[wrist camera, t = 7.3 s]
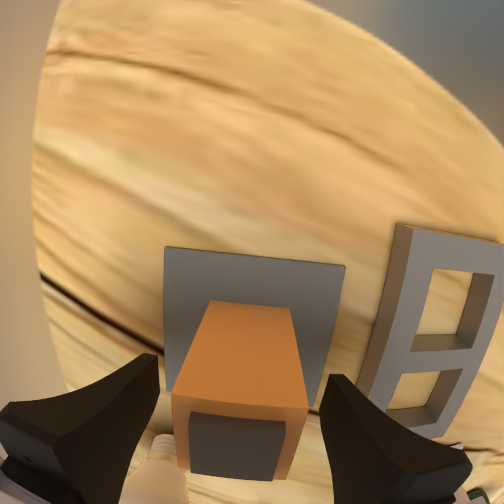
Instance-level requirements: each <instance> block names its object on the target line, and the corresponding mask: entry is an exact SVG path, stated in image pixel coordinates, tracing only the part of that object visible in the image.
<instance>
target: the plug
mask: <svg viewBox="0 0 504 504" xmlns="http://www.w3.org/2000/svg"><path fill="white" fill-rule="evenodd" d="M171 403H172V417H173V429H174V439H175V449H176V458H177V467H178V468H180V469H185V470H190V471H191V473H196V474H202V475H209V476H216V477H224V478H233V479H243V480H256V481H272V480H273V479H279V480H286V478H287V475H288V472H289V469H290V467H291V464H292V461H293V458H294V455H295V452H296V449H297V446H298V443H299V440H300V436H301V433H302V430H303V427H304V423H305V420H306V417H307V413H308V410H309V405H308V399H307V394H306V389H305V383H304V378H303V373H302V368H301V362H300V357H299V352H298V347H297V342H296V337H295V332H294V327H293V322H292V317H291V312H290V308H281V307H271V306H261V305H251V304H242V303H233V302H224V301H216V300H210V303H209V305H208V307H207V309H206V312H205V314H204V316H203V319H202V321H201V323H200V326H199V328H198V330H197V333H196V335H195V337H194V340H193V342H192V344H191V347H190V349H189V351H188V354H187V356H186V358H185V361H184V363H183V366H182V368H181V370H180V373H179V375H178V377H177V380H176V382H175V385H174V387H173V389H172V392H171Z"/></svg>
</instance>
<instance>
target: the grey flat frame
mask: <svg viewBox="0 0 504 504" xmlns="http://www.w3.org/2000/svg"><path fill="white" fill-rule="evenodd" d="M433 268H438V269H447V270H455V271H464V272H473V273H474V275H473V279H472V283H471V287H470V291H469V294H468V298H467V301H466V305H465V308H464V312H463V315H462V318H461V321H460V324H459V327H458V330H457V333H456V334H455V335H415V334H416V331H417V328H418V325H419V322H420V318H421V315H422V311H423V308H424V304H425V301H426V297H427V293H428V289H429V285H430V281H431V277H432V272H433ZM503 302H504V244H502V243H499V242H495V241H491V240H486V239H481V238H476V237H471V236H466V235H461V234H456V233H451V232H445V231H440V230H435V229H429V228H423V227H418V226H412V225H406V224H400V223H396V227H395V233H394V239H393V245H392V251H391V256H390V261H389V266H388V271H387V276H386V280H385V285H384V289H383V294H382V298H381V302H380V306H379V310H378V314H377V318H376V322H375V326H374V329H373V333H372V336H371V340H370V343H369V347H368V350H367V353H366V357H365V360H364V363H363V366H362V369H361V372H360V375H359V378H358V381H357V384H356V387H357V388H358V389H359V390H360V391H361V392H362V393H363V394H364V395H365V396H366V397H367V398H368V399H369V400H370V401H371V402H372V403H373V404H375V405H376V406H377V407H378V408H379V409H380V410H382V411H383V412H384V413H385V414H387V415H388V416H389V417H391V418H392V419H393V420H395V421H396V422H398V423H399V424H401V425H402V426H404V427H406V428H407V429H409V430H411V431H413V432H415V433H417V434H419V435H421V436H423V437H425V438H427V439H432V438H437V437H442V436H443V435H444V433H445V432H446V430H447V429H448V427H449V425H450V424H451V422H452V420H453V418H454V417H455V415H456V413H457V411H458V409H459V408H460V406H461V404H462V402H463V400H464V398H465V396H466V394H467V392H468V390H469V388H470V386H471V384H472V382H473V380H474V378H475V376H476V374H477V372H478V369H479V367H480V365H481V362H482V360H483V358H484V355H485V353H486V351H487V348H488V345H489V343H490V340H491V338H492V335H493V332H494V329H495V327H496V324H497V321H498V318H499V315H500V312H501V309H502V305H503ZM432 371H442V372H441V374H440V376H439V379H438V381H437V383H436V385H435V387H434V390H433V392H432V394H431V396H430V398H429V400H428V402H427V404H426V406H424V407H416V408H407V409H397V410H387V407H388V405H389V403H390V401H391V398H392V396H393V394H394V391H395V389H396V386H397V384H398V381H399V379H400V376H401V374H402V373H418V372H432Z"/></svg>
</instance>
